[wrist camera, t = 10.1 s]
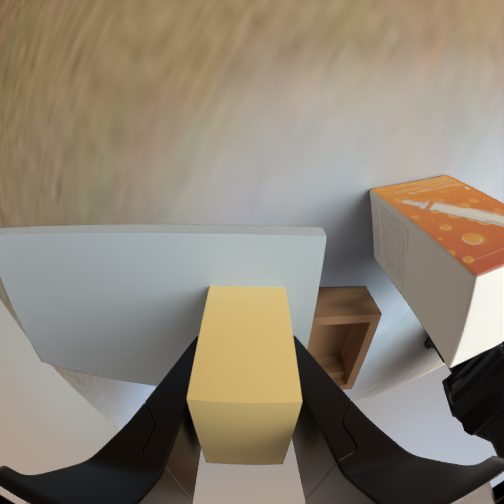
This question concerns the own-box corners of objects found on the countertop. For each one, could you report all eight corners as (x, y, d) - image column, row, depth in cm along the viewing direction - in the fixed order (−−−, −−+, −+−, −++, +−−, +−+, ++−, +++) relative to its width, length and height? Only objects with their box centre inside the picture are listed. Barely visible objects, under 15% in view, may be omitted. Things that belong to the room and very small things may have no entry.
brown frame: (365, 286, 25) (387, 323, 20) (342, 360, 29) (354, 397, 25) (183, 286, 24) (171, 326, 19) (194, 363, 29) (188, 403, 24)
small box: (446, 172, 20) (561, 238, 8) (444, 238, 23) (534, 324, 11) (366, 187, 20) (476, 278, 9) (371, 258, 23) (447, 373, 12)
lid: (321, 227, 9) (377, 340, 5) (295, 380, 12) (307, 476, 8) (-5, 228, 9) (-77, 287, 4) (46, 353, 12) (9, 419, 8)
